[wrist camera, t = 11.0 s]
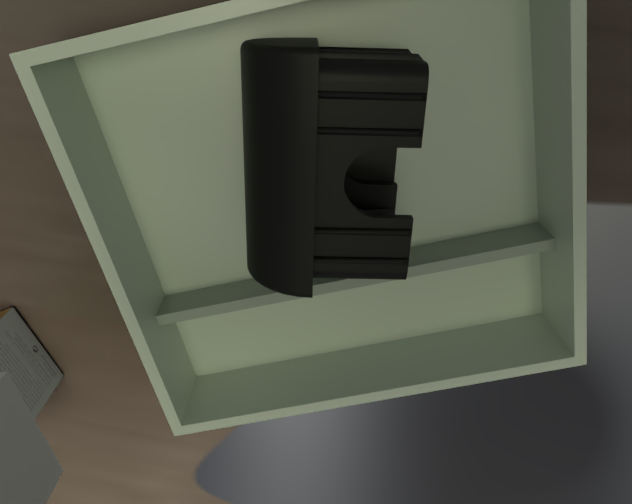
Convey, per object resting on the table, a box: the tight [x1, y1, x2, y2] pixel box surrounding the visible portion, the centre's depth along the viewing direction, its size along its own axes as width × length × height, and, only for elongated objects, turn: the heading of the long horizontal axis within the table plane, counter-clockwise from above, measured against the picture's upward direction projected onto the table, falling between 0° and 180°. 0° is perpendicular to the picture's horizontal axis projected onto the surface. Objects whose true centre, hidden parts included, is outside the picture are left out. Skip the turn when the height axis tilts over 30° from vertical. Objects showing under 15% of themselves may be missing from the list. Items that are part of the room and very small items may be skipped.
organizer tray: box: [9, 0, 587, 436], centre depth 26 cm, size 22×20×5 cm
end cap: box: [240, 37, 429, 298], centre depth 24 cm, size 10×7×7 cm
